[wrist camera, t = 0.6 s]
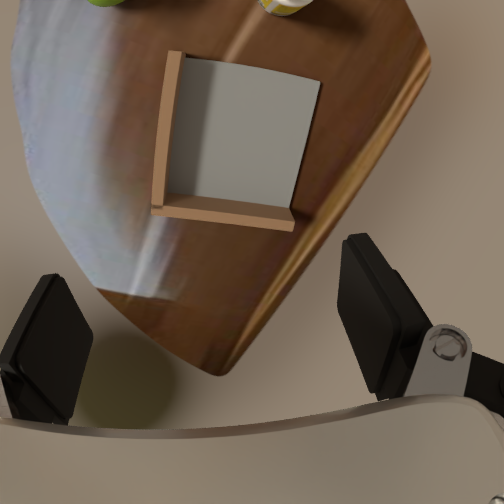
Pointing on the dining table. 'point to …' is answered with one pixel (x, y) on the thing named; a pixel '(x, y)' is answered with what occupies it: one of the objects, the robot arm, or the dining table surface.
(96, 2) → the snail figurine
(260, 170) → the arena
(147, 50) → the dining table surface
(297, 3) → the supplement bottle
